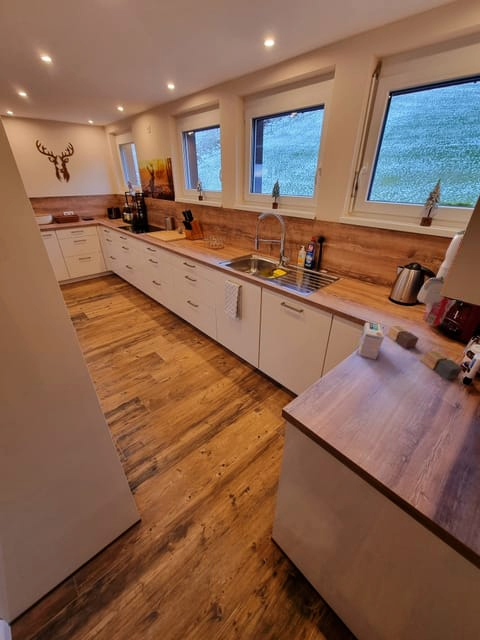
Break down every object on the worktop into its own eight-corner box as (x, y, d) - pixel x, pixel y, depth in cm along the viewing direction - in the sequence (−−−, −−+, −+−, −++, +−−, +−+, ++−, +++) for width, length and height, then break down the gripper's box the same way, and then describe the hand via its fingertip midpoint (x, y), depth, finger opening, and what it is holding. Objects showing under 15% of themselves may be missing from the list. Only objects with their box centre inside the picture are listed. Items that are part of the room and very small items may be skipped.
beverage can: (438, 321, 104) (451, 293, 99) (442, 328, 99) (455, 299, 93) (420, 317, 106) (432, 290, 101) (423, 324, 101) (435, 296, 96)
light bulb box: (358, 342, 116) (365, 321, 111) (375, 346, 114) (382, 324, 108) (358, 355, 107) (365, 333, 102) (376, 360, 105) (384, 337, 100)
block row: (396, 334, 123) (399, 325, 121) (457, 378, 97) (463, 367, 94) (387, 335, 122) (390, 326, 120) (446, 380, 96) (452, 369, 93)
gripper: (435, 281, 89) (420, 317, 95) (482, 278, 93) (465, 313, 100) (420, 274, 94) (407, 309, 101) (466, 273, 98) (450, 306, 105)
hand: (436, 311), depth 100 cm, fingers closed on beverage can, 6 cm apart
